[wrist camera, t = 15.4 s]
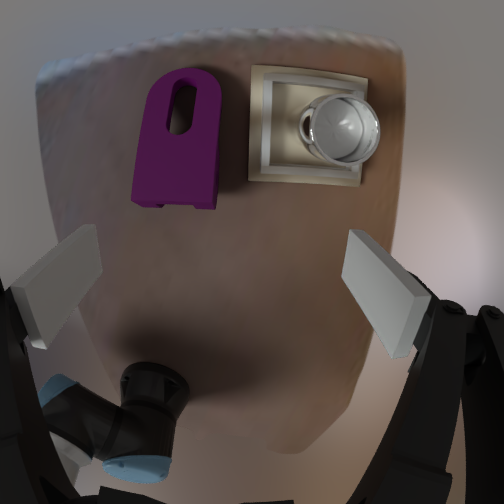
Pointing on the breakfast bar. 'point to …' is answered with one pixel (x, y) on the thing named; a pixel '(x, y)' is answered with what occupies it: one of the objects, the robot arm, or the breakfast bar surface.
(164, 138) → the mounting bracket
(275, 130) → the cup holder
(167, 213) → the breakfast bar surface
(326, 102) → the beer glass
